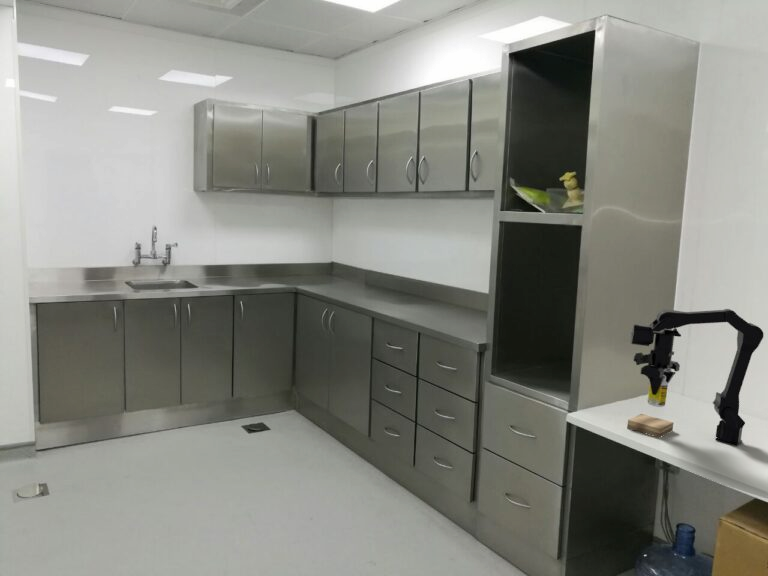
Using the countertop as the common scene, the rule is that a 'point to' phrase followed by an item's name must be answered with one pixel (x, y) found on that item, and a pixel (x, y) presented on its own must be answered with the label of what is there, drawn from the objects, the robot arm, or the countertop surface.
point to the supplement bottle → (658, 395)
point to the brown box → (650, 425)
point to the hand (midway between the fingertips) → (657, 393)
